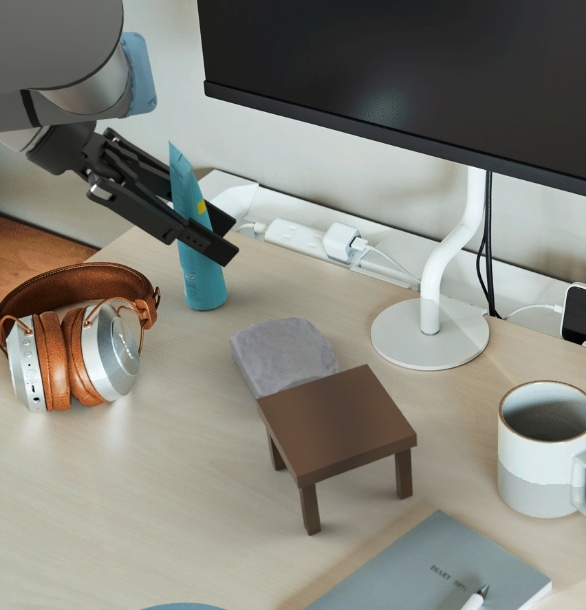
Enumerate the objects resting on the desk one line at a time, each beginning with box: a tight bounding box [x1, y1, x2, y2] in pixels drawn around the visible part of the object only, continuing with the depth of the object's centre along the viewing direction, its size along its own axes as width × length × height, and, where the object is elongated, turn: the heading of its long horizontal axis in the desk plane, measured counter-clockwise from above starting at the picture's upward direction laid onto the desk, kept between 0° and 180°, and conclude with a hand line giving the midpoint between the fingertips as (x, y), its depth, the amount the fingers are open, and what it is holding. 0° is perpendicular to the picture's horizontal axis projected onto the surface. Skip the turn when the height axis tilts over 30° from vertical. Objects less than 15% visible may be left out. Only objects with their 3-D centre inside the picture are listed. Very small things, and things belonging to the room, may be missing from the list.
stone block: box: [229, 316, 340, 400], centre depth 98 cm, size 12×5×10 cm
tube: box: [168, 140, 229, 311], centre depth 105 cm, size 7×5×19 cm, turn 39°
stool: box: [255, 363, 418, 537], centre depth 85 cm, size 11×11×8 cm
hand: (230, 242), depth 107 cm, fingers closed on tube, 6 cm apart
